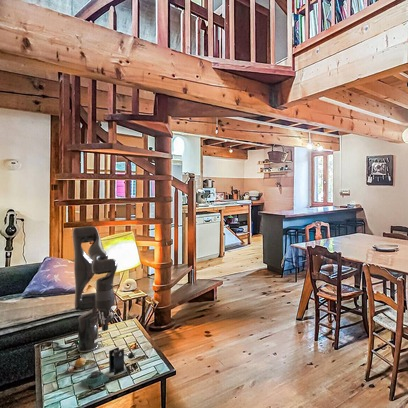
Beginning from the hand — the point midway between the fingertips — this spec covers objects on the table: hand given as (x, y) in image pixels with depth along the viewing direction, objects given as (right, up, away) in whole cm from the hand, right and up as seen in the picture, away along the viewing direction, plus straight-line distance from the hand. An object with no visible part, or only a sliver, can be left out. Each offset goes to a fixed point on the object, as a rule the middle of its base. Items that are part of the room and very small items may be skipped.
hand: (105, 330), depth 164 cm
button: (+2, -19, -9) cm, 21 cm away
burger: (-15, -22, +3) cm, 27 cm away
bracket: (+6, -23, 0) cm, 24 cm away
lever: (+7, -16, +2) cm, 17 cm away
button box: (+2, -23, -8) cm, 25 cm away
